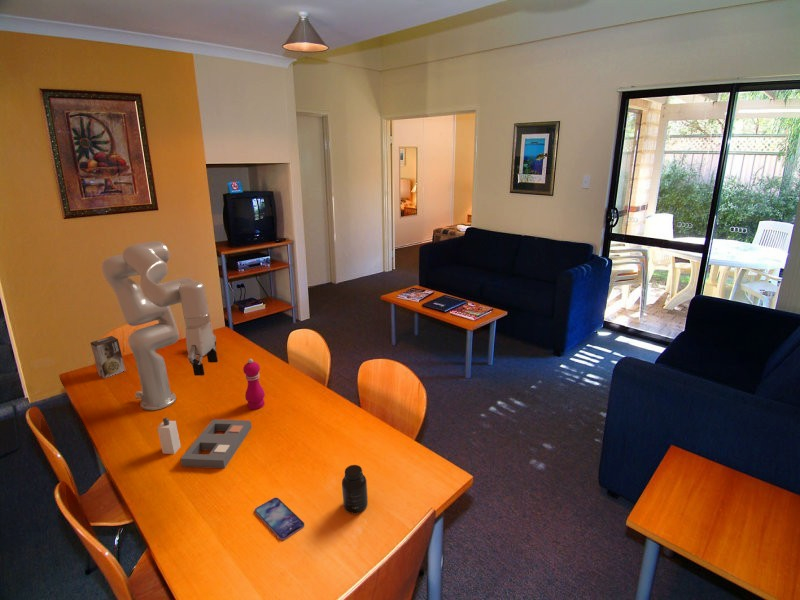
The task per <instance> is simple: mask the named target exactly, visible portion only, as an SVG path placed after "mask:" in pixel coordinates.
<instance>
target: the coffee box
mask: <svg viewBox="0 0 800 600" xmlns="http://www.w3.org/2000/svg"><path fill="white" fill-rule="evenodd" d="M90 346H91V347H90V348H91V350H92V354H93V358H94V361H95V366H96V369H97V373H98V376H99V377H101V376H102V377H101V378H103V379H104V378H105V379H107V377H108V378H110V376H111V377H113V376H116V375H119V374H121V373H124V372H126V367H125V363H124V358H123V354H122V352H121V351H122V350H121V347H120V342H119V339H118V338H117V337H115V336H112V335H110V336H107V337H104V338H100V339H97V340H94V341H92V342H90ZM123 371H124V372H123ZM115 374H116V375H115ZM112 375H113V376H112Z"/></svg>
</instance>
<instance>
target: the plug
mask: <svg viewBox="0 0 800 600" xmlns="http://www.w3.org/2000/svg"><path fill="white" fill-rule="evenodd" d="M169 419H170V418H169V417H164V418H163V419H162V422H161V423H160V424H159V425H158V426H157V432H158V436H159V442H160V446H161V451H162V454H166V455H167V454H169V455H175V454H176V453H177V452H178V451H179V450H180V448H181V441H180V436H179V432H178V425H177V421H176V420H169Z"/></svg>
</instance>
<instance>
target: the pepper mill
mask: <svg viewBox="0 0 800 600" xmlns="http://www.w3.org/2000/svg"><path fill="white" fill-rule="evenodd" d="M260 369H261V368H260V364H259V363H258V362H256V361H254V360H253V359H252V358H249V359H248V361H247V363H245V364H244V366H243V368H242V370H243V374H244V375H245V380H246V381H247V388H246V391H245V400H246V401H247V407H248V409H250V410H259V409H261V408H263V407H264V406H265V403H266V402H265V399H264V398H265V394H266V393H265V391H264V389H263V387H262V385H261V384H260V381H259V380H260V379H259V378H260Z"/></svg>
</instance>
